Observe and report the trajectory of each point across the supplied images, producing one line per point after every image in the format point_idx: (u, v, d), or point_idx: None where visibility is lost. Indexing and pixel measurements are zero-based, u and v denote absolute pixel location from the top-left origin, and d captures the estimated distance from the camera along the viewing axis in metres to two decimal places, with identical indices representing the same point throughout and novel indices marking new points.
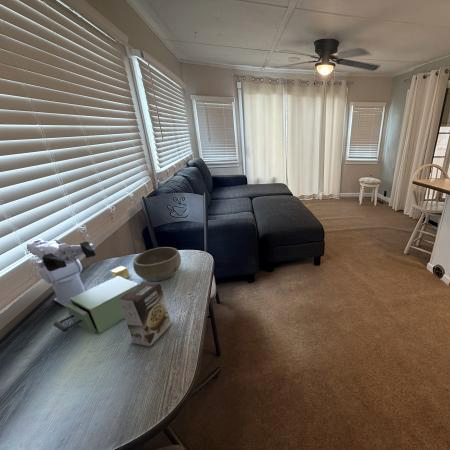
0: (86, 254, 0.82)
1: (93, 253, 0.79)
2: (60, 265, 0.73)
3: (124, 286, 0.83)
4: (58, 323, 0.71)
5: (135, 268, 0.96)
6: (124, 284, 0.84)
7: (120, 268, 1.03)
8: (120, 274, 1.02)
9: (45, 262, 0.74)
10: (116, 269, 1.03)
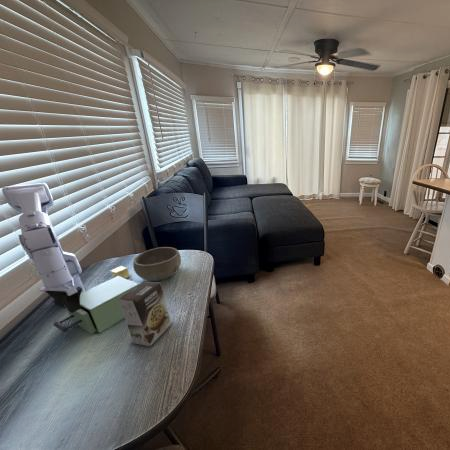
0: None
1: None
2: None
3: (124, 286, 0.83)
4: (58, 323, 0.71)
5: (135, 268, 0.96)
6: (124, 284, 0.84)
7: (120, 268, 1.03)
8: (120, 274, 1.02)
9: None
10: (116, 269, 1.03)
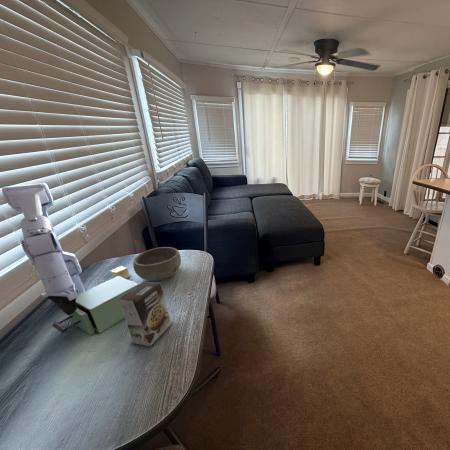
0: None
1: None
2: None
3: (124, 286, 0.83)
4: (57, 324, 0.71)
5: (135, 268, 0.96)
6: (124, 284, 0.84)
7: (120, 268, 1.03)
8: (120, 274, 1.02)
9: None
10: (116, 269, 1.03)
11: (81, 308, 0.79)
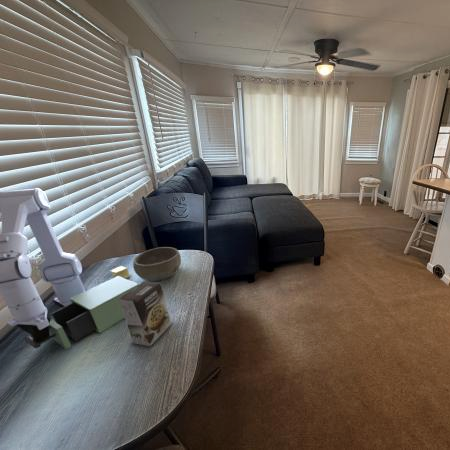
0: None
1: None
2: None
3: (124, 286, 0.83)
4: (30, 338, 0.66)
5: (135, 268, 0.96)
6: (124, 284, 0.84)
7: (120, 268, 1.03)
8: (120, 274, 1.02)
9: None
10: (116, 269, 1.03)
11: (58, 320, 0.74)
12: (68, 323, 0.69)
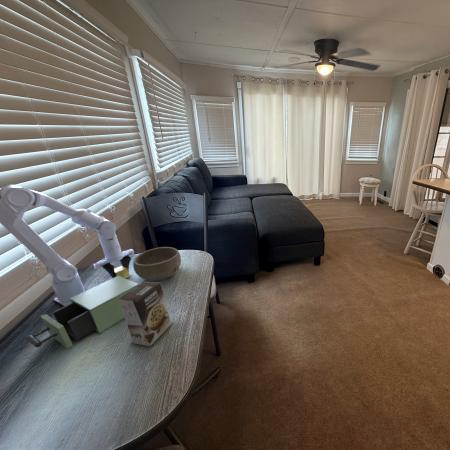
0: (121, 261, 1.04)
1: None
2: (111, 274, 1.01)
3: (124, 286, 0.83)
4: (31, 337, 0.67)
5: (135, 268, 0.96)
6: (124, 284, 0.84)
7: (120, 268, 1.03)
8: (120, 274, 1.02)
9: None
10: (116, 269, 1.03)
11: (59, 319, 0.74)
12: (69, 322, 0.69)
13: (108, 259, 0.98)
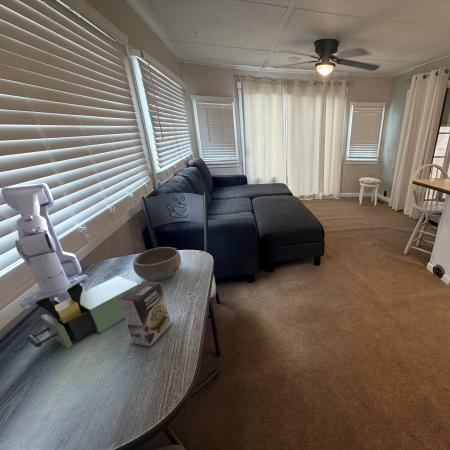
0: (69, 292, 0.73)
1: None
2: (51, 314, 0.69)
3: (124, 286, 0.83)
4: (31, 337, 0.67)
5: (135, 268, 0.96)
6: (124, 284, 0.84)
7: (67, 304, 0.71)
8: (65, 313, 0.70)
9: None
10: (60, 305, 0.71)
11: None
12: (69, 322, 0.69)
13: (44, 293, 0.66)
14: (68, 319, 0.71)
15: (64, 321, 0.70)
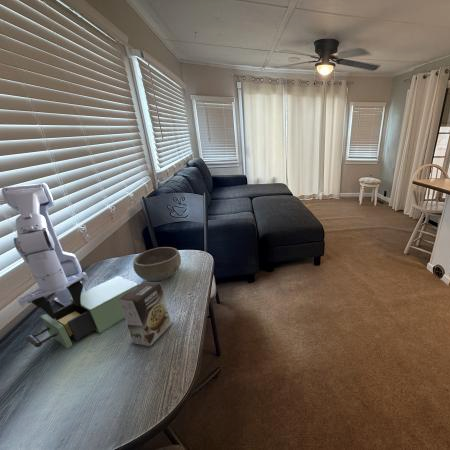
0: (69, 290, 0.73)
1: None
2: (48, 313, 0.68)
3: (124, 286, 0.83)
4: (31, 337, 0.67)
5: (135, 268, 0.96)
6: (124, 284, 0.84)
7: (72, 316, 0.73)
8: None
9: None
10: (66, 318, 0.72)
11: None
12: (69, 322, 0.69)
13: (43, 290, 0.66)
14: None
15: (70, 334, 0.71)
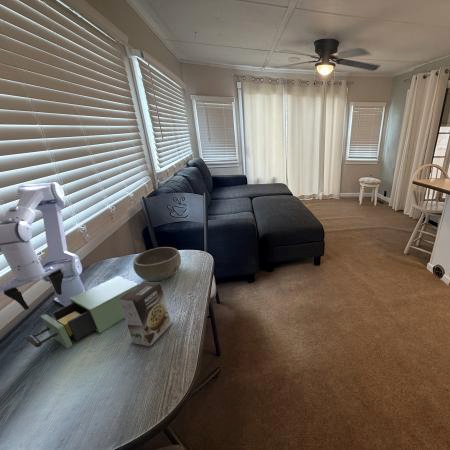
0: (50, 279, 0.76)
1: None
2: (20, 304, 0.70)
3: (124, 286, 0.83)
4: (31, 337, 0.67)
5: (135, 268, 0.96)
6: (124, 284, 0.84)
7: (72, 316, 0.73)
8: None
9: None
10: (66, 318, 0.72)
11: None
12: (69, 322, 0.69)
13: (19, 280, 0.68)
14: None
15: (70, 334, 0.71)
